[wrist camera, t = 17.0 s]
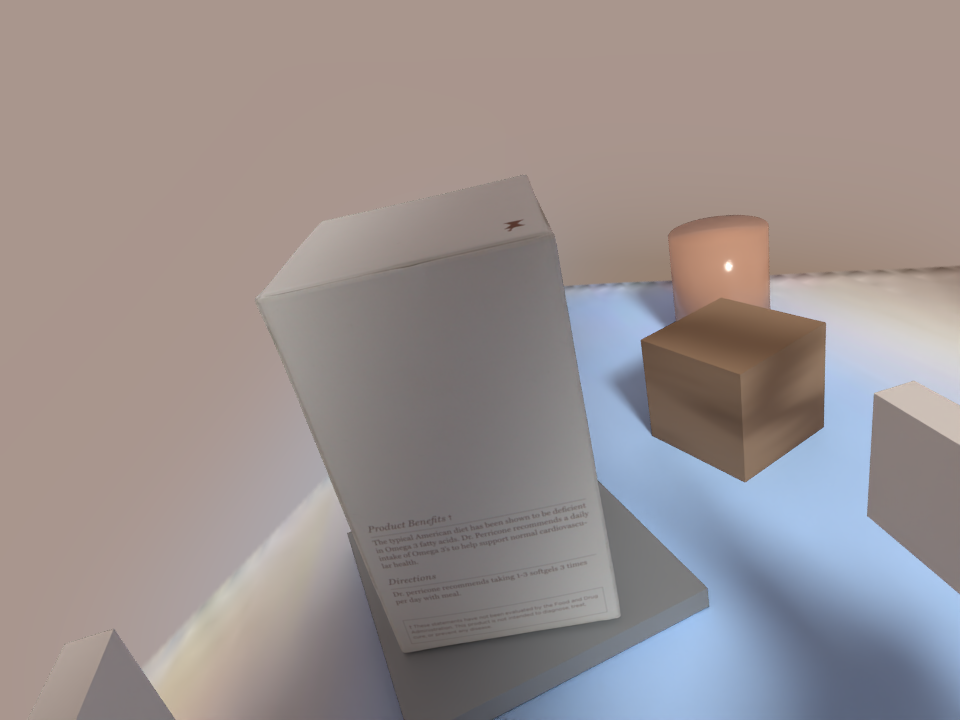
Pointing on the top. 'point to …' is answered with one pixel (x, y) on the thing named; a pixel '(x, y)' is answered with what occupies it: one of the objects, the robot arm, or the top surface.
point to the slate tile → (542, 634)
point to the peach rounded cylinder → (719, 262)
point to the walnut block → (736, 384)
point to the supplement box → (450, 412)
